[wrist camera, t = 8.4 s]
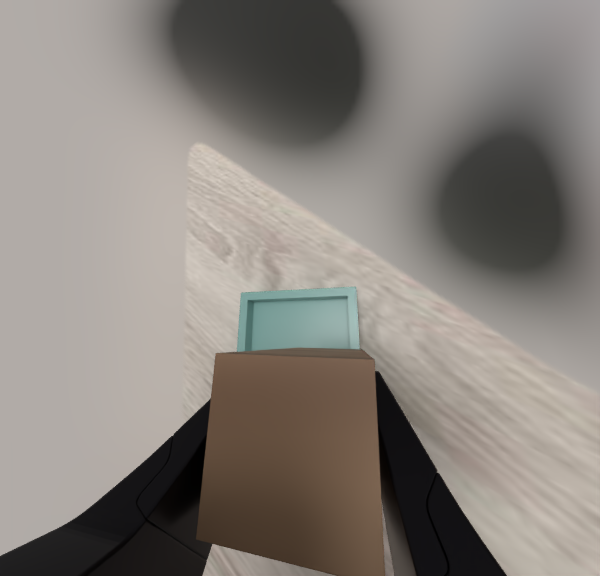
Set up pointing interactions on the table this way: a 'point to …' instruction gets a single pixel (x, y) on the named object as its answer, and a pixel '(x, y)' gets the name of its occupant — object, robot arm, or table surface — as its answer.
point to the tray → (299, 319)
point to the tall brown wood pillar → (295, 459)
